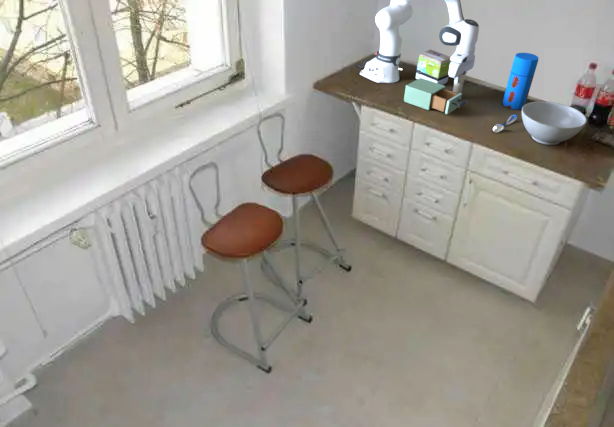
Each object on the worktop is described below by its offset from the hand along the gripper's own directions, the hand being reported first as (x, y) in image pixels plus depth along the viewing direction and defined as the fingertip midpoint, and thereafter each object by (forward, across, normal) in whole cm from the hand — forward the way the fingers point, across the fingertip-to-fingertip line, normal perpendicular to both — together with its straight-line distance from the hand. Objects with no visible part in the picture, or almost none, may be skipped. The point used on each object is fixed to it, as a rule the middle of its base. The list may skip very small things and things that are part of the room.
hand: (459, 81), depth 265 cm
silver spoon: (+9, +13, +33) cm, 36 cm away
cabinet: (+8, +18, -9) cm, 21 cm away
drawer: (+8, +18, +3) cm, 19 cm away
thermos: (+9, -12, +26) cm, 30 cm away
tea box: (+9, -9, -20) cm, 24 cm away
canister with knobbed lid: (+7, 0, 0) cm, 7 cm away
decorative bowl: (+9, +12, +52) cm, 54 cm away
